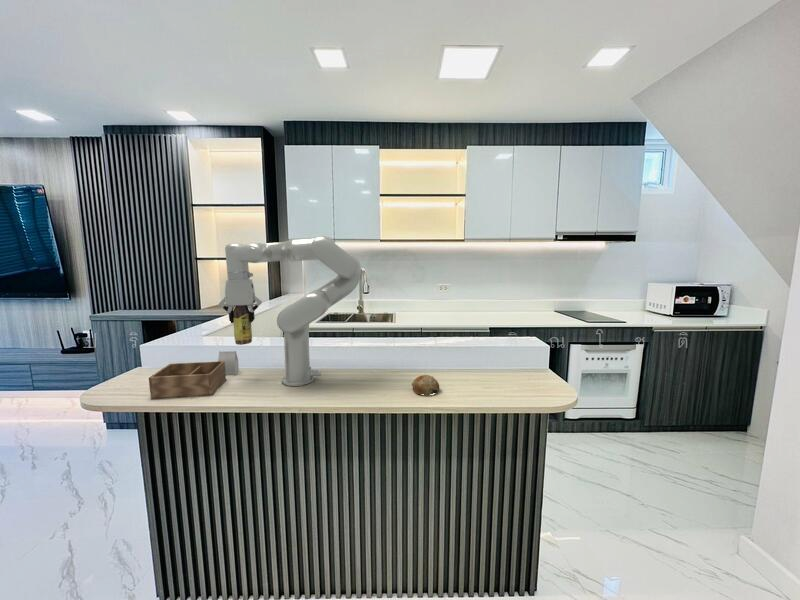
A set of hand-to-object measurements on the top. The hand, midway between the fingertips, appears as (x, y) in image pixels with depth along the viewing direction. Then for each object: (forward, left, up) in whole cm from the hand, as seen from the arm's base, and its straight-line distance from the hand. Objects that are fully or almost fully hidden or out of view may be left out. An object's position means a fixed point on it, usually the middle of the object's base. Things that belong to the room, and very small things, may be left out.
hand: (242, 321), depth 131 cm
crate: (+19, +4, -25) cm, 31 cm away
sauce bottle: (0, 0, -9) cm, 9 cm away
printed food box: (+10, -10, -25) cm, 28 cm away
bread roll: (-69, +20, -25) cm, 76 cm away
